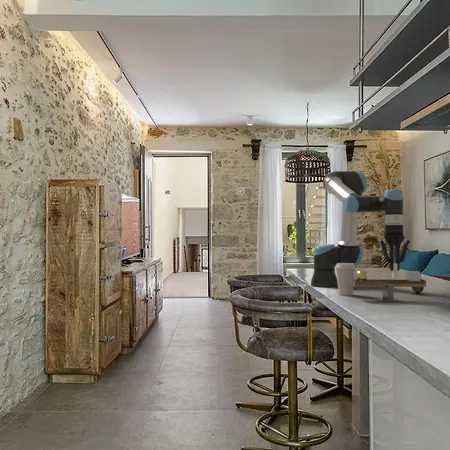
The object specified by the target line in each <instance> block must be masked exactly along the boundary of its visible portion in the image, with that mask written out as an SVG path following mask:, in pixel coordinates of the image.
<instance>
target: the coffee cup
mask: <svg viewBox="0 0 450 450" xmlns="http://www.w3.org/2000/svg"><path fill="white" fill-rule="evenodd" d="M355 269H357V266H354V264H353V263H337V265H336V266H335V273H336V277H337V282H338V286H337V290H338V296H346V297H347V296H353V295H354V285H352V284H351V278H354V279H355Z"/></svg>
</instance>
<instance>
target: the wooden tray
mask: <svg viewBox="0 0 450 450" xmlns="http://www.w3.org/2000/svg"><path fill="white" fill-rule="evenodd" d="M388 283H394V288H395V287H396V288H397V287H405V288H406V287H407V288H412V287H424V288H426V287H427V280H426V279H423V278H421V281H405V279H375V278H374V279H369V278H367V281H357V278H355V277H354V278H351V284H352V285H353V287H382V286H388Z"/></svg>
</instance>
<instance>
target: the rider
mask: <svg viewBox="0 0 450 450" xmlns="http://www.w3.org/2000/svg"><path fill="white" fill-rule="evenodd" d="M418 271H419V270H418ZM418 271H417V270H405V271H404V280H405V281H421V279H422V278H421V279H420V273H421V271H419V272H418Z"/></svg>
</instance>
